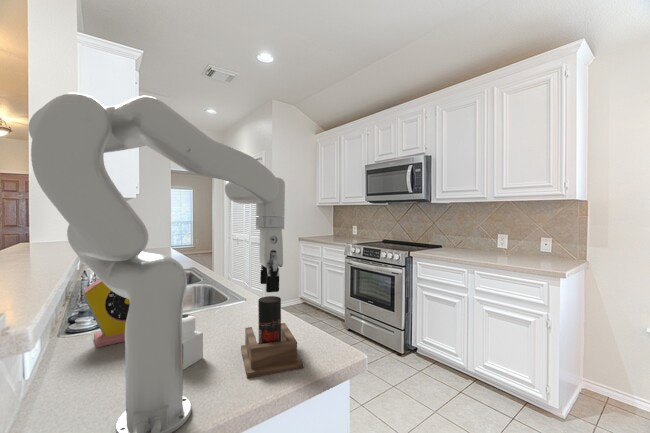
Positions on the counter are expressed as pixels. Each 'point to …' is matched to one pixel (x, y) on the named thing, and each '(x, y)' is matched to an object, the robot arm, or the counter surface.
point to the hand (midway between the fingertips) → (269, 287)
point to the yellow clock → (107, 313)
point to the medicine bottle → (190, 342)
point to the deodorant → (269, 319)
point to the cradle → (270, 354)
